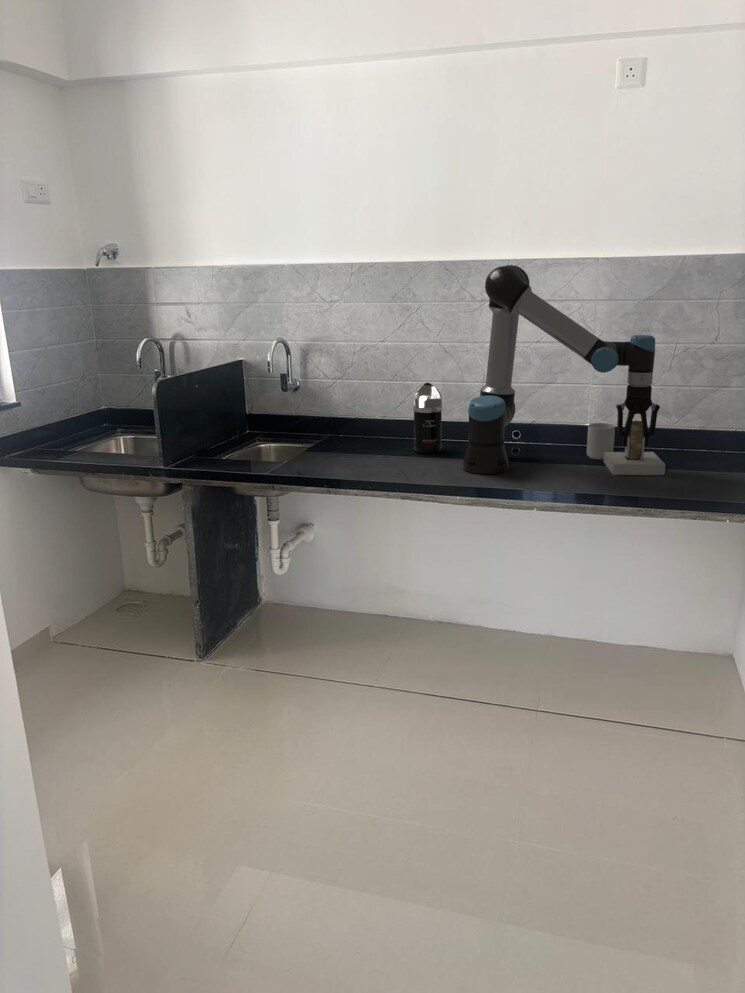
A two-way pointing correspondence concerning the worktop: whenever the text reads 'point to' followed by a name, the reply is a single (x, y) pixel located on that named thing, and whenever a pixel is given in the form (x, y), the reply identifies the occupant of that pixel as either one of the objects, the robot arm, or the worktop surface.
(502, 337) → the robot arm
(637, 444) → the peg
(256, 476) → the worktop surface
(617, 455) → the socket block
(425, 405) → the black silver bottle
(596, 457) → the mug
